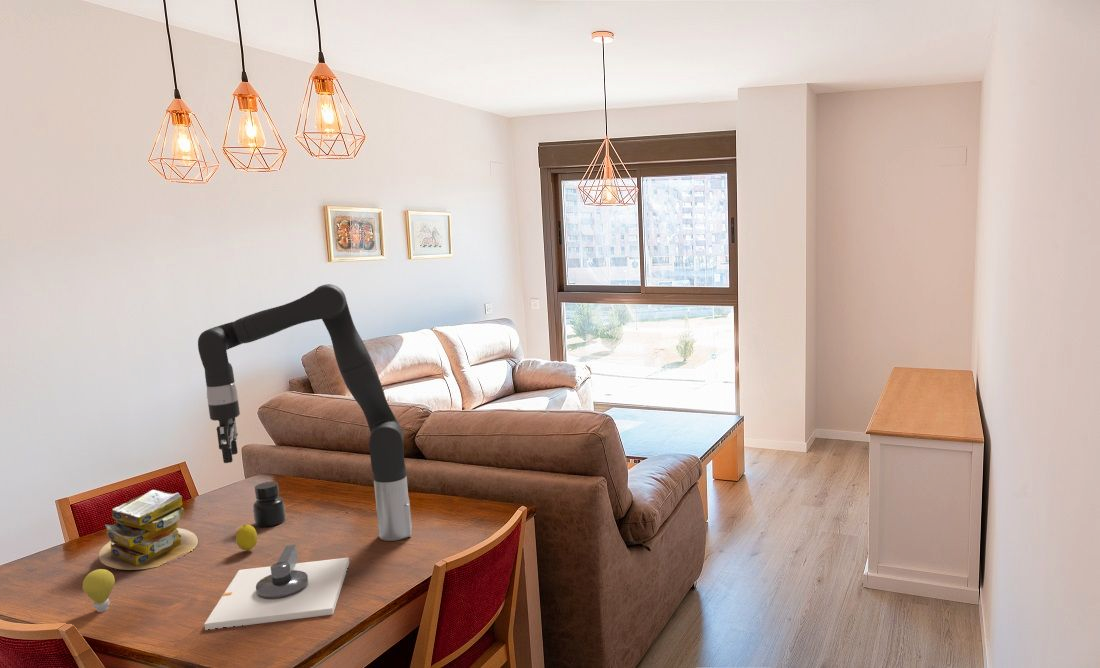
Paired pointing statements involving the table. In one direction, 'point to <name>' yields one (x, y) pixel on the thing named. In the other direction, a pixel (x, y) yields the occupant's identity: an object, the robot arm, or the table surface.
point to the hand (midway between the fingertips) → (230, 458)
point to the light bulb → (99, 587)
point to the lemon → (246, 537)
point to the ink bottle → (268, 505)
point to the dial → (283, 577)
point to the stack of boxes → (147, 532)
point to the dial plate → (312, 601)
